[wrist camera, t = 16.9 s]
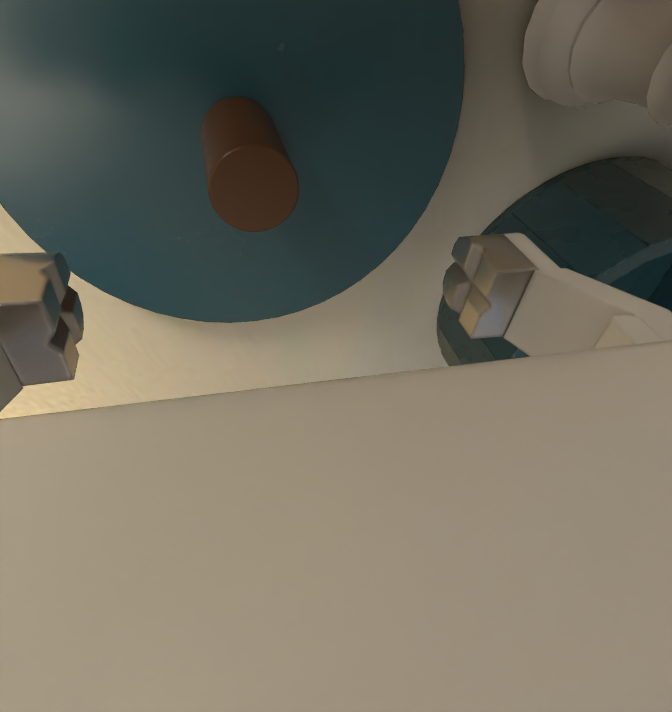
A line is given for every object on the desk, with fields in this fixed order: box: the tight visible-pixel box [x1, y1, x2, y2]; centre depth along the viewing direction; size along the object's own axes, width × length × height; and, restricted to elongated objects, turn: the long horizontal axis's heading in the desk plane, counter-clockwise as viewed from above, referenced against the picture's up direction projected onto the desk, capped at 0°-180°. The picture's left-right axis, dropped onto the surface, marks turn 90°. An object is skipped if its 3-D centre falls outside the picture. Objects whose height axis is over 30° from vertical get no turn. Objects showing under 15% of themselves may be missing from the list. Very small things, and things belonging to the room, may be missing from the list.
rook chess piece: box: [522, 0, 672, 125], centre depth 14 cm, size 4×4×8 cm
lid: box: [0, 0, 465, 323], centre depth 14 cm, size 16×16×5 cm
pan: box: [437, 157, 672, 366], centre depth 24 cm, size 15×15×6 cm
